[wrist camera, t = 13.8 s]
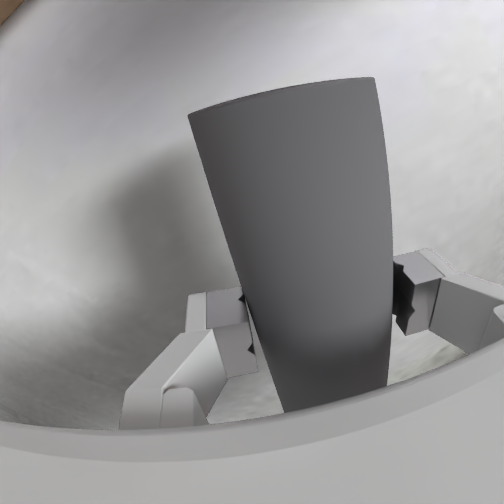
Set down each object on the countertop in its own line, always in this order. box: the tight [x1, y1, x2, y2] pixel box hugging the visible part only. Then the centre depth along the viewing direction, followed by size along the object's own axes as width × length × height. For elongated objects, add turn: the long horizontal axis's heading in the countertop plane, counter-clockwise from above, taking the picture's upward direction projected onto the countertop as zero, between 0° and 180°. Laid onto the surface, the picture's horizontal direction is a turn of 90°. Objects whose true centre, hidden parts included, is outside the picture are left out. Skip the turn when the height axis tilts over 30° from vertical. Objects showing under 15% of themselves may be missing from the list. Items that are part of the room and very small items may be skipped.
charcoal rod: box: [188, 77, 393, 413], centre depth 9 cm, size 11×4×4 cm, turn 14°
